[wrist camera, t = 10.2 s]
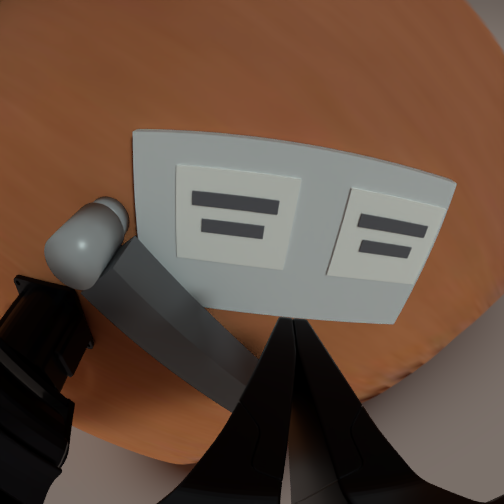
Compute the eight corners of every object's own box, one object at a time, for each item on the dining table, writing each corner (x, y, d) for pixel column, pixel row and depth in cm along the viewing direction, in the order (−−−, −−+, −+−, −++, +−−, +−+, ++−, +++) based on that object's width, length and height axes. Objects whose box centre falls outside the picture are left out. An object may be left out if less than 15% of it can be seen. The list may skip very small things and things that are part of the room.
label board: (103, 283, 18) (97, 292, 17) (81, 130, 12) (72, 134, 12) (390, 318, 18) (394, 327, 18) (451, 179, 13) (459, 185, 12)
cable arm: (68, 222, 14) (36, 254, 11) (97, 191, 13) (62, 222, 10) (265, 402, 23) (264, 436, 20) (297, 393, 22) (299, 428, 19)
